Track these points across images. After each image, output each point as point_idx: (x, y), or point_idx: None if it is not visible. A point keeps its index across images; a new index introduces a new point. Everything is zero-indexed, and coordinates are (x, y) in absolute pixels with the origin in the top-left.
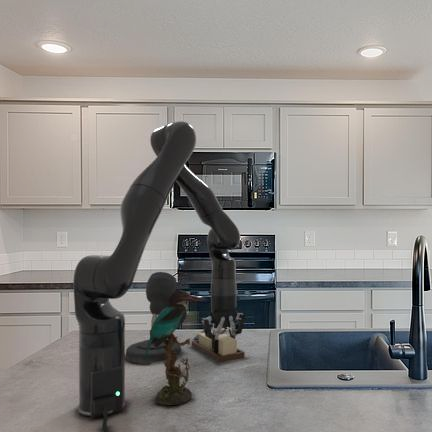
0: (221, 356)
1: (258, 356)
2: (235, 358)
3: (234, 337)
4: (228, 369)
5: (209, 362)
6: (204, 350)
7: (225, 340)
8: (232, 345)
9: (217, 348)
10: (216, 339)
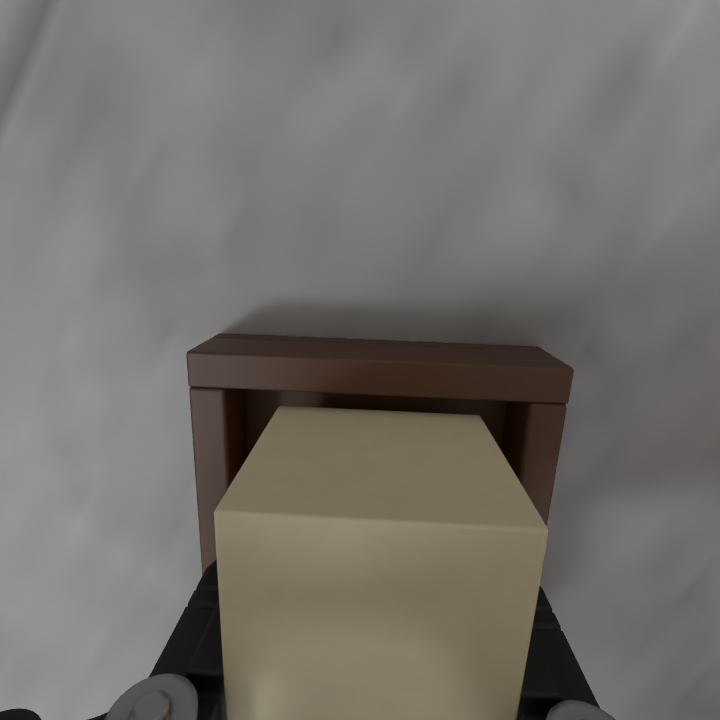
0: (540, 375)
1: (43, 311)
2: (334, 343)
3: (168, 677)
4: (570, 114)
5: (583, 461)
6: None
7: (439, 595)
8: (332, 462)
9: None
10: (580, 712)
